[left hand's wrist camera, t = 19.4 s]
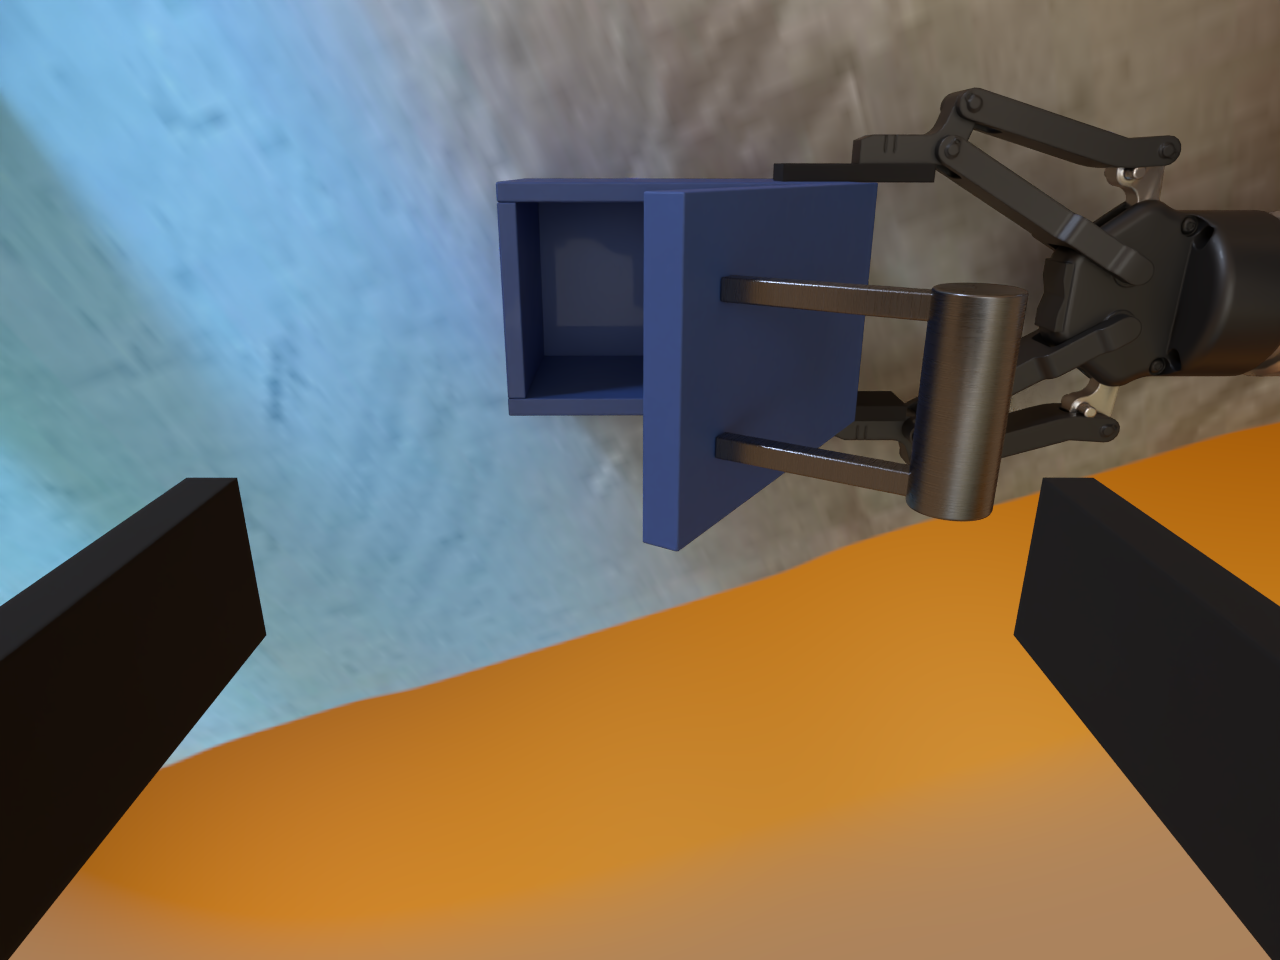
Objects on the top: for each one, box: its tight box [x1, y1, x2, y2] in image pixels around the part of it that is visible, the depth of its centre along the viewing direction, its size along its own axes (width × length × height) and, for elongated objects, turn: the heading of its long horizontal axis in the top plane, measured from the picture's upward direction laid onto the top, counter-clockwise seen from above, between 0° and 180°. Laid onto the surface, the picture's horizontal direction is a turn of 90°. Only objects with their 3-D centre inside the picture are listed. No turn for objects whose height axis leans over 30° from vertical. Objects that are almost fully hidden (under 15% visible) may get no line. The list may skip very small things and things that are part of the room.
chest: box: [496, 179, 846, 416], centre depth 40 cm, size 15×10×10 cm, turn 90°
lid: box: [643, 182, 1028, 551], centre depth 27 cm, size 16×10×9 cm
